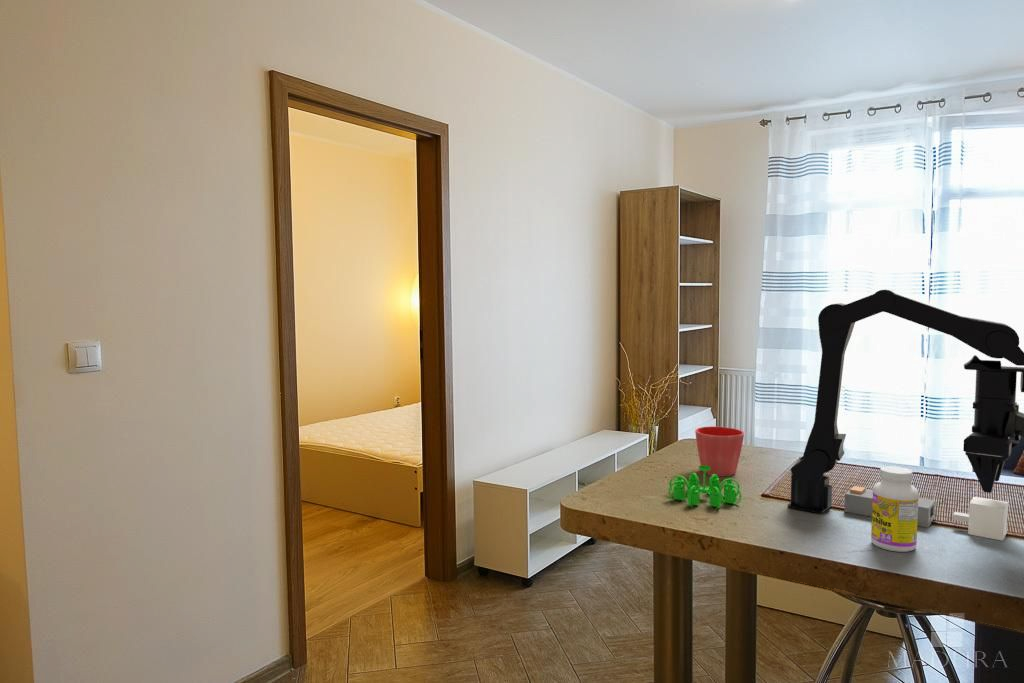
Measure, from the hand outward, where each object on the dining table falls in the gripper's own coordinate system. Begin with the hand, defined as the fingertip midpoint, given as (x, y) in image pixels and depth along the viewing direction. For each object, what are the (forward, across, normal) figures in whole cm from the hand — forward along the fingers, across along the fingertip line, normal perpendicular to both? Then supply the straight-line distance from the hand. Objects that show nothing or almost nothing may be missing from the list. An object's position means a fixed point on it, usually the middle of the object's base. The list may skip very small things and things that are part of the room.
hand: (991, 486), depth 122 cm
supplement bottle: (+9, -17, +11) cm, 22 cm away
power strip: (+8, 0, +16) cm, 18 cm away
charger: (+8, 0, +2) cm, 9 cm away
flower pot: (+8, +10, +54) cm, 55 cm away
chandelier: (+9, -12, +47) cm, 49 cm away
